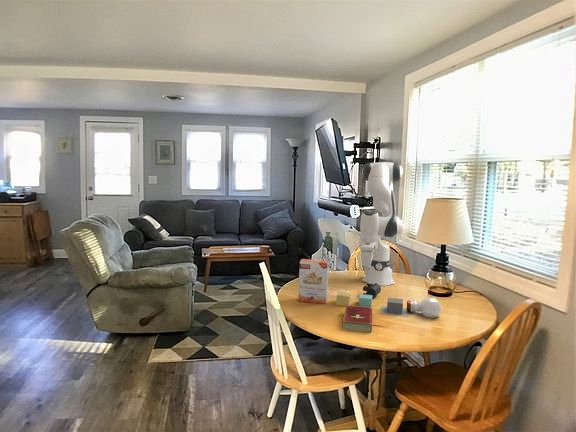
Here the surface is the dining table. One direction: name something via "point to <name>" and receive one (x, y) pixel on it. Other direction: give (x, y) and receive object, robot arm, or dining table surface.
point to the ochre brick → (342, 298)
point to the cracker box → (313, 281)
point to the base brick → (394, 305)
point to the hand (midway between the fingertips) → (367, 272)
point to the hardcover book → (358, 318)
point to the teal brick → (365, 300)
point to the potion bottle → (425, 307)
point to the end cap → (372, 289)
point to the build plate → (404, 313)
